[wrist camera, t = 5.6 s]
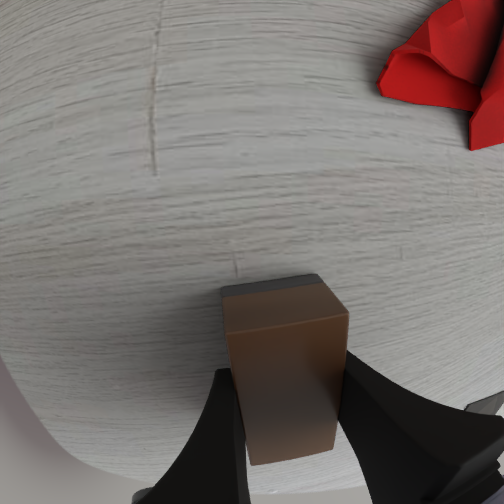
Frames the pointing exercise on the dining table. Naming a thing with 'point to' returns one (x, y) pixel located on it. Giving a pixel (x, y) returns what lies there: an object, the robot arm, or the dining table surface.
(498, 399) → the dark grey flat slab
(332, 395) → the eraser
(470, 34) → the cloth
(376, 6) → the dining table surface
